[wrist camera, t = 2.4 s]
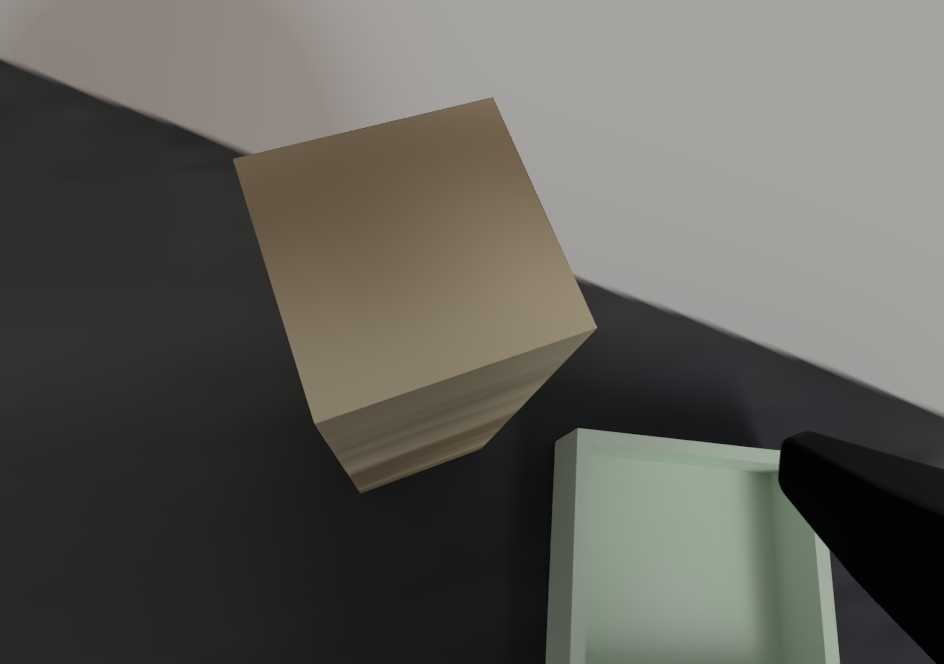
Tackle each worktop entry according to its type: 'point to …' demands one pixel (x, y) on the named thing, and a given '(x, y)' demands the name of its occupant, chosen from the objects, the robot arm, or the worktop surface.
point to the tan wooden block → (413, 284)
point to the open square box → (681, 557)
